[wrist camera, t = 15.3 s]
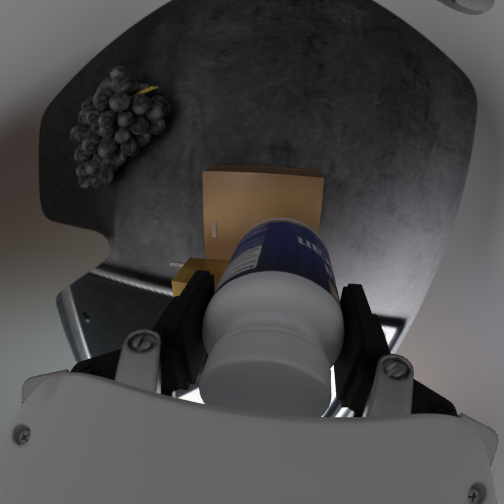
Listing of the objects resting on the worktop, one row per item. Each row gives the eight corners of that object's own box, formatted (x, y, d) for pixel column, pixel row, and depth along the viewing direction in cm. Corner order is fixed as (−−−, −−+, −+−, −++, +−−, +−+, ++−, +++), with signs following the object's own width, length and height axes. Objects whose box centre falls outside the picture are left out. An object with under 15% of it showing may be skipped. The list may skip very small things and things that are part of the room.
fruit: (53, 217, 21) (133, 87, 15) (36, 161, 22) (105, 45, 16) (114, 210, 29) (197, 113, 23) (91, 162, 30) (161, 71, 24)
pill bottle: (346, 262, 15) (387, 404, 7) (280, 312, 17) (262, 451, 9) (283, 194, 14) (265, 300, 5) (218, 256, 16) (146, 384, 8)
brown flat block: (184, 164, 27) (163, 171, 22) (318, 169, 25) (324, 178, 20) (191, 278, 32) (175, 302, 28) (305, 290, 31) (306, 318, 26)
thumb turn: (191, 273, 26) (172, 300, 22) (189, 257, 25) (170, 282, 21) (241, 279, 25) (230, 309, 21) (242, 262, 25) (230, 290, 20)
